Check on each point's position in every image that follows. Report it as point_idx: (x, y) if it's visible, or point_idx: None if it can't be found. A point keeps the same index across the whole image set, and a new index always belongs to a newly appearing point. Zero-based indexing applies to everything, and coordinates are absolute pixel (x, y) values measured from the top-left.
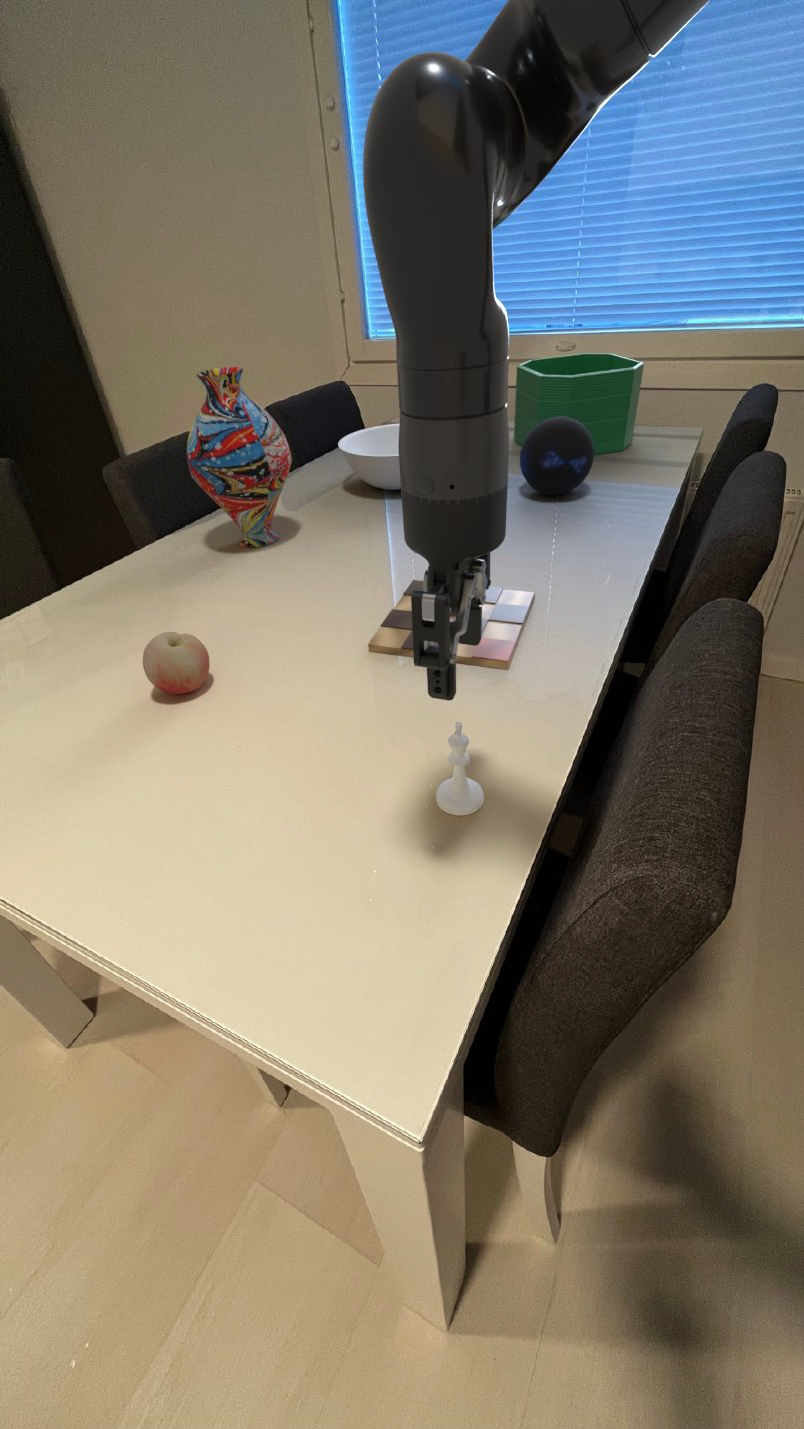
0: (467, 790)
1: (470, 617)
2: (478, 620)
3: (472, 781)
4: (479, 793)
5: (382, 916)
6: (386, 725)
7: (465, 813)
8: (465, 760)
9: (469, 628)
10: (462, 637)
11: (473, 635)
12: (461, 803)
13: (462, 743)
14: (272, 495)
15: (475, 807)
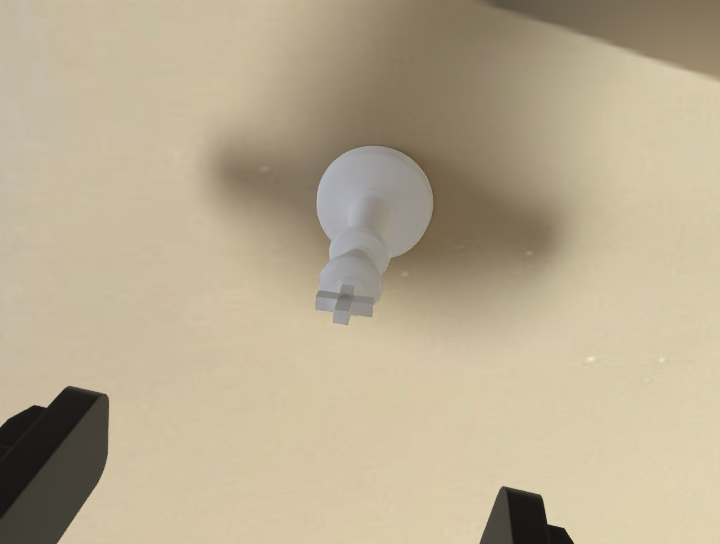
0: (383, 196)
1: (25, 528)
2: (32, 486)
3: (334, 180)
4: (375, 161)
5: (704, 335)
6: (153, 377)
7: (429, 188)
8: (374, 240)
9: (64, 483)
10: (90, 470)
11: (83, 442)
12: (414, 204)
13: (371, 277)
14: None
15: (413, 167)
